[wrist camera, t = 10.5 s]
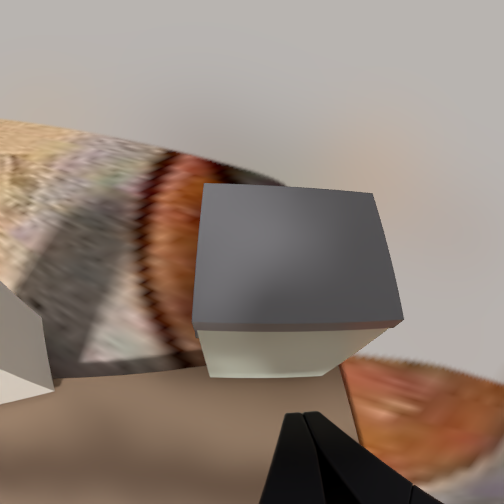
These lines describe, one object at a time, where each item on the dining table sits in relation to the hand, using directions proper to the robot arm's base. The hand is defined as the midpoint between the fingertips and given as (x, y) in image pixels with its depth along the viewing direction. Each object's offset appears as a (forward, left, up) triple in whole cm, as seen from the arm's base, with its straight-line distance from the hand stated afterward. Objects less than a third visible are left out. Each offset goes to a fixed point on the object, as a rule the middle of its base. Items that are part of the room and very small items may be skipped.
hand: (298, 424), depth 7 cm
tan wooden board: (-4, +5, -7) cm, 9 cm away
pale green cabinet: (+4, +1, -6) cm, 7 cm away
